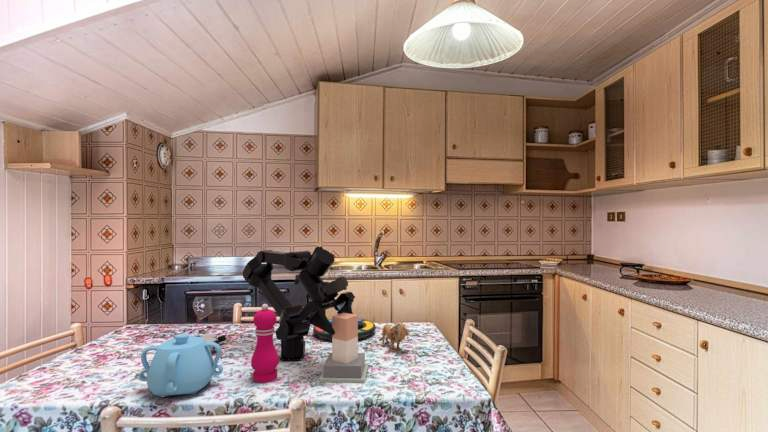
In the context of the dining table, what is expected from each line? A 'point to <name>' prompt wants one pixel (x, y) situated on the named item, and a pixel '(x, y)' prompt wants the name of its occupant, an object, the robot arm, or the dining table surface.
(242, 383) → the dining table surface
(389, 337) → the lion figurine
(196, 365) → the decorative pot
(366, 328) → the electronic game
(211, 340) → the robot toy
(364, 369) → the base brick
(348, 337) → the brick column
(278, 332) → the robot arm
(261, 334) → the pepper mill
